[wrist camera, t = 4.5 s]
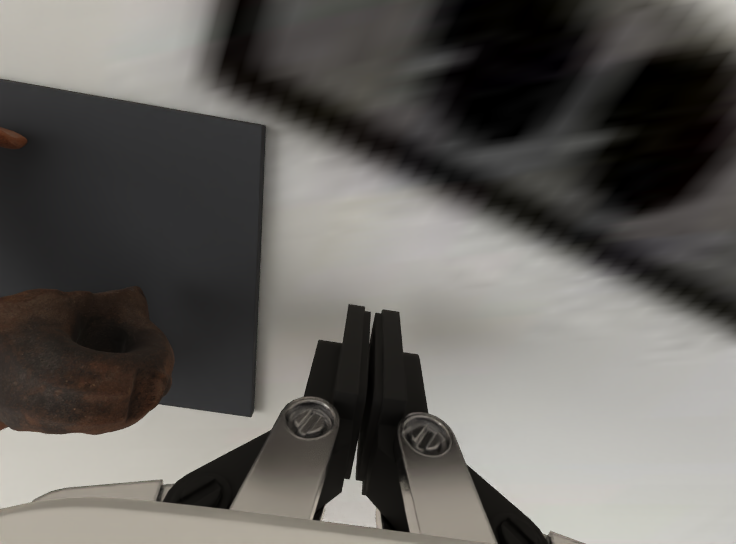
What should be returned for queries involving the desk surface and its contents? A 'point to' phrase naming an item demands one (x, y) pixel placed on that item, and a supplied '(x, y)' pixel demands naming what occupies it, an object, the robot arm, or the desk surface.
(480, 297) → the desk surface
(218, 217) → the desk mat
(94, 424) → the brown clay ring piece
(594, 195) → the desk surface
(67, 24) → the desk surface
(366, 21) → the desk surface
